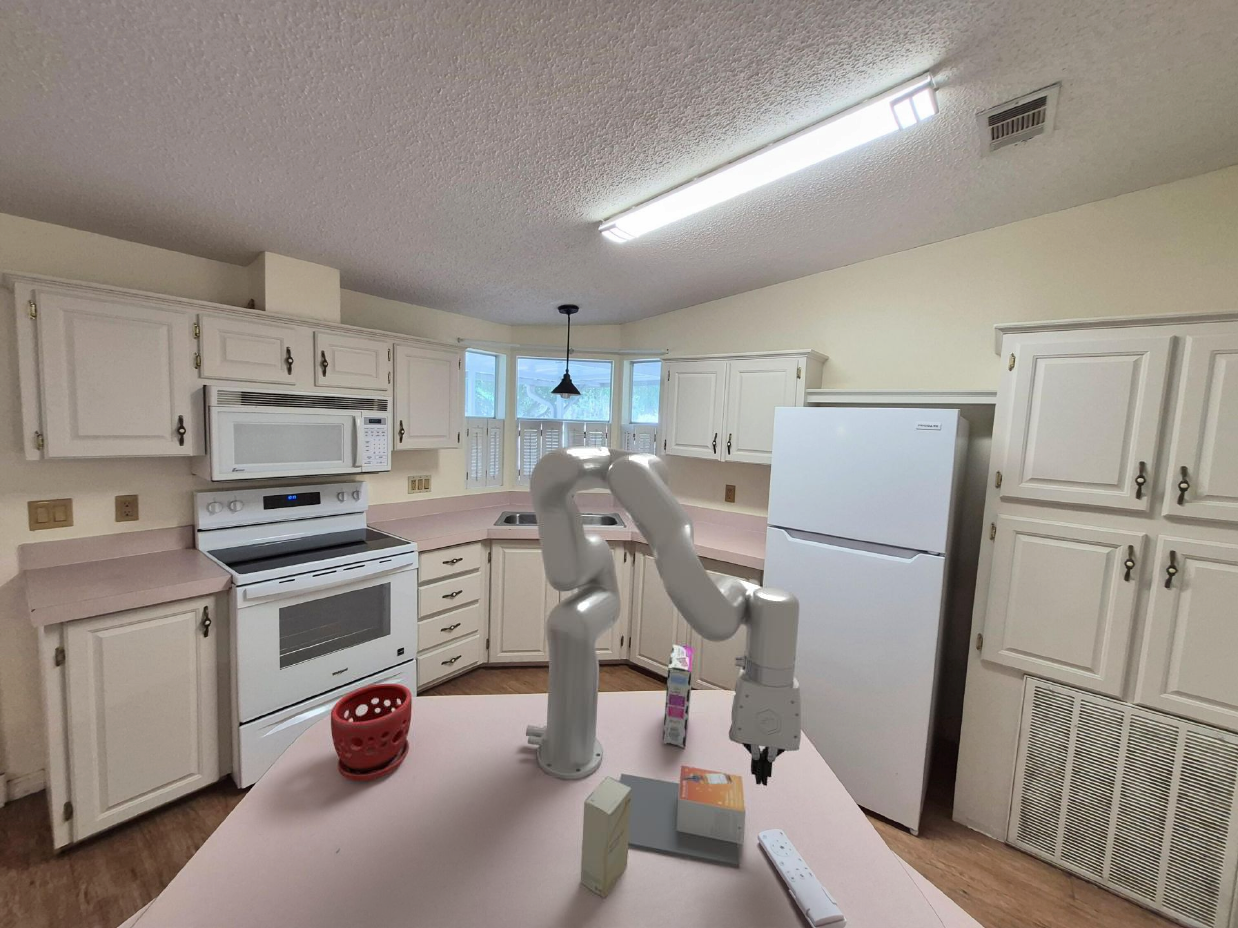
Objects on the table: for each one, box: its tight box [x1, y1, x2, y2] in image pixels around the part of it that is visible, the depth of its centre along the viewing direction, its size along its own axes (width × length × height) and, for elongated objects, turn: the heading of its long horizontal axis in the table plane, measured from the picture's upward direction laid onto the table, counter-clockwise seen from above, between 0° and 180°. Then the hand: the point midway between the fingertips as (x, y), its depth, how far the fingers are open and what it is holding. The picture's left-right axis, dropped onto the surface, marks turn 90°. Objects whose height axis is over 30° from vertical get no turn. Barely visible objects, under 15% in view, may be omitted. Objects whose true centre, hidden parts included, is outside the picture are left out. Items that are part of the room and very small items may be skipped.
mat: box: [619, 773, 741, 869], centre depth 78 cm, size 20×14×1 cm
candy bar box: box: [661, 644, 695, 749], centre depth 100 cm, size 11×5×16 cm, turn 169°
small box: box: [677, 764, 746, 845], centre depth 77 cm, size 8×6×10 cm
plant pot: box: [330, 683, 413, 782], centre depth 86 cm, size 13×13×12 cm
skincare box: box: [580, 775, 631, 898], centre depth 67 cm, size 6×4×12 cm
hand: (760, 778), depth 75 cm, fingers closed
